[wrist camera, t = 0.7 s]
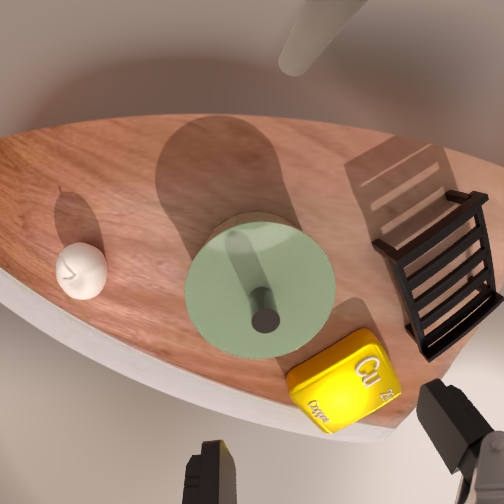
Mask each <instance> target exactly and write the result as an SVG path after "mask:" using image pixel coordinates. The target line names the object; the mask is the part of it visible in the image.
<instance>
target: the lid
mask: <svg viewBox="0 0 504 504" xmlns="http://www.w3.org/2000/svg"><path fill="white" fill-rule="evenodd" d="M184 292H185V303H186V308H187V311H188V314H189V317H190V319H191V321H192V323H193V325H194V326H195V328H196V329H197V331H198V332H199V333H200V334H201V335H202V336H203V338H204V339H205V340H207V341H208V342H209V343H210V344H212V345H213V346H215V347H216V348H218V349H219V350H221V351H224V352H226V353H228V354H231V355H234V356H237V357H242V358H248V359H267V358H273V357H278V356H282V355H284V354H287V353H290V352H292V351H294V350H296V349H298V348H300V347H301V346H303V345H305V344H306V343H307V342H308V341H310V340H311V339H312V338H313V337H314V336H315V335H316V334H317V333H318V332H319V331H320V330H321V328H322V327H323V326H324V324H325V322H326V321H327V319H328V317H329V315H330V313H331V311H332V307H333V304H334V300H335V294H336V283H335V275H334V271H333V268H332V265H331V263H330V261H329V258H328V257H327V255H326V254H325V252H324V250H323V249H322V248H321V247H320V246H319V245H318V243H317V242H316V241H314V240H313V239H312V238H311V237H310V236H309V235H307V234H306V233H304V232H303V231H301V230H299V229H297V228H295V227H293V226H290V225H287V224H284V223H280V222H274V221H251V222H246V223H241V224H238V225H235V226H232V227H230V228H227V229H226V230H224V231H222V232H220V233H218V234H217V235H216V236H214V237H213V238H211V239H210V240H209V241H208V242H207V243H206V244H205V245H204V246H203V247H202V248H201V249H200V251H199V252H198V253H197V255H196V256H195V258H194V260H193V261H192V263H191V266H190V268H189V271H188V273H187V277H186V281H185V291H184Z"/></svg>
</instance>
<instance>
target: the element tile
mask: <svg viewBox="0 0 504 504" xmlns="http://www.w3.org/2000/svg"><path fill="white" fill-rule="evenodd" d="M286 381H287V386H288V390H289V395H290V398H291V399H292V400H293V401H294V403H295V404H296V405H297V406H298V407H299V408H300V409H301V410H302V411H303V412H304V413H305V414H306V415H307V416H308V417H309V418H310V419H311V420H312V421H313V422H314V423H315V424H316V425H317V426H318V427H319V428H320V429H321V430H322V431H323V432H325V433H334V432H337V431H339V430H341V429H343V428H345V427H347V426H348V425H350V424H352V423H354V422H356V421H358V420H359V419H361V418H363V417H365V416H367V415H368V414H370V413H372V412H373V411H375V410H377V409H379V408H380V407H382V406H383V405H385V404H387V403H388V402H390V401H392V400H393V399H395V398H396V397H397V396H398V395H399V394H400V392H401V389H402V386H401V384H400V381H399V379H398V377H397V375H396V373H395V371H394V369H393V366H392V364H391V362H390V360H389V358H388V356H387V354H386V352H385V350H384V348H383V346H382V345H381V343H380V342H379V340H378V339H377V338H376V336H375V335H374V334H373V332H372V331H371V330H369V329H367V328H362V329H359V330H356V331H355V332H353V333H352V334H350V335H348V336H347V337H345V338H344V339H342V340H340V341H339V342H337V343H336V344H334V345H332V346H331V347H329V348H327V349H326V350H324V351H322V352H321V353H319V354H317V355H316V356H314V357H312V358H310V359H309V360H307V361H305V362H303V363H302V364H300V365H298V366H296V367H294V368H293V369H291V370H290V371H289V372H288V373H287V376H286Z"/></svg>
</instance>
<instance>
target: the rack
mask: <svg viewBox="0 0 504 504" xmlns="http://www.w3.org/2000/svg"><path fill="white" fill-rule="evenodd" d="M445 194H446V197H447V200H448V201H452V202H455V203H459V204H461V205H460V206H459V207H457V208H456V209H455V210H453V211H452V212H451V213H449V214H448V215H447V216H445V217H444V218H443V219H441V220H440V221H438V222H437V223H436V224H434V225H433V226H432V227H430V228H429V229H427V230H426V231H424V232H423V233H422V234H420V235H419V236H417V237H416V238H414V239H413V240H412V241H410V242H409V243H407V244H406V245H404V246H403V247H401V248H400V249H398V250H396V249H395V248H394V247H392V246H390V245H389V244H387V243H385V242H384V241H382V240H380V239H379V238H378V239H377V240H375V241H374V242H372V245H373V247H374V249H375V250H376V251H377V252H378V253H380V254H381V255H383V256H384V257H386V258H387V260H388V262H389V265H390V267H391V270H392V272H393V275H394V278H395V280H396V283H397V285H398V288H399V291H400V294H401V296H402V299H403V302H404V305H405V308H406V311H407V313H408V316H409V319H410V322H411V323H410V324H408V325H407V326H405V329H406V332H407V333H408V334H409V335H410V336H411V338H412V339H413V340H414V341H415V342H416V343H417V345H418V348H419V351H420V353H421V354H422V355H423V356H424V358H425V359H426V360H427V361H428V362H429V363H430V362H431V361H432V360H434V359H435V358H436V357H438V356H439V355H441V354H442V353H443V352H445V351H446V350H447V349H448V348H450V347H451V346H452V345H454V344H455V343H456V342H457V341H459V340H460V339H461V338H462V337H464V336H465V335H466V334H467V333H468V332H470V331H471V330H472V329H473V328H474V327H476V326H477V325H478V324H479V323H480V322H481V321H482V320H484V319H485V318H486V317H487V316H488V315H489V314H490V313H491V312H492V311H493V310H495V309H496V308H497V307H498V306H499V305H500V304H501V303H502V302H503V301H504V297H503V296H502V295H500V294H499V293H497V292H496V286H495V277H494V269H493V262H492V256H491V250H490V244H489V238H488V233H487V228H486V224H485V219H484V215H483V211H482V205H483V204H484V203H485V202H486V201H488V200H489V198H488V194H485V193H481V192H476V191H472V192H471V193H469V194H467V193H463V192H458V191H454V190H449V191H448V192H446V193H445ZM473 216H474V219H475V223H476V226H475V227H474V228H473V229H471V230H470V231H469V232H468V233H467V234H465V235H464V236H463V237H462V238H460V239H459V240H458V241H456V242H455V243H454V244H453V245H451V246H450V247H449V248H447V249H446V250H445V251H443V252H442V253H441V254H439V255H438V256H437V257H435V258H434V259H433V260H431V261H430V262H429V263H427V264H426V265H424V266H423V267H422V268H420V269H419V270H417V271H416V272H415V273H413V274H412V275H410V276H409V277H407V278H406V275H405V272H404V269H403V268H404V267H405V266H407V265H408V264H410V263H411V262H413V261H414V260H416V259H417V258H418V257H420V256H421V255H423V254H424V253H425V252H427V251H428V250H430V249H431V248H432V247H434V246H435V245H436V244H438V243H439V242H440V241H442V240H443V239H444V238H446V237H447V236H448V235H450V234H451V233H452V232H454V231H455V230H456V229H458V228H459V227H460V226H461V225H463V224H464V223H465V222H467V221H468V220H469V219H470V218H472V217H473ZM478 239H479V241H480V246H481V248H480V249H478V250H477V251H476V252H475V253H474V254H473V255H471V256H470V257H469V258H468V259H466V260H465V261H464V262H463V263H462V264H460V265H459V266H458V267H457V268H455V269H454V270H453V271H452V272H450V273H449V274H448V275H446V276H445V277H444V278H443V279H441V280H440V281H439V282H437V283H436V284H435V285H433V286H432V287H431V288H429V289H428V290H426V291H425V292H424V293H422V294H421V295H420V296H418V297H417V298H415V299H414V298H413V295H412V292H411V291H412V290H413V289H415V288H416V287H418V286H419V285H421V284H422V283H423V282H425V281H426V280H427V279H429V278H430V277H432V276H433V275H434V274H436V273H437V272H438V271H440V270H441V269H442V268H444V267H445V266H446V265H447V264H449V263H450V262H451V261H453V260H454V259H455V258H456V257H458V256H459V255H460V254H461V253H463V252H464V251H465V250H466V249H468V248H469V247H470V246H471V245H472V244H474V243H475V242H476V241H477V240H478ZM482 261H483V262H484V268H483V269H482V270H481V271H480V272H479V273H478V274H476V275H475V276H474V277H473V276H472V277H470V278H469V279H468V282H467V283H466V284H465V285H463V286H462V287H461V288H460V289H458V290H457V291H456V292H455V293H453V294H452V295H451V296H450V297H448V298H447V299H446V300H445V301H443V302H442V303H441V304H439V305H438V306H437V307H435V308H434V309H433V310H431V311H430V312H429V313H427V314H426V315H424V316H423V317H422V318H420V317H419V314H418V311H420V310H421V309H422V308H424V307H425V306H427V305H428V304H429V303H431V302H432V301H433V300H435V299H436V298H437V297H439V296H440V295H441V294H443V293H444V292H445V291H446V290H448V289H449V288H450V287H452V286H453V285H454V284H455V283H457V282H458V281H459V280H460V279H462V278H463V277H464V276H465V275H466V274H468V273H469V272H470V271H471V270H472V269H474V268H475V267H476V266H477V265H478V264H479V263H481V262H482ZM485 280H486V282H487V285H486V284H485V283H483V282H484V281H485ZM475 289H476V290H478V291H479V292H480V293H479V294H477V295H476V296H475V297H474V298H473V299H472V300H470V301H469V302H468V303H467V304H466V305H464V306H463V307H462V308H461V309H460V310H458V311H457V312H456V313H455V314H453V315H452V316H451V317H450V318H448V319H447V320H446V321H444V322H443V323H442V324H440V325H439V326H438V327H436V328H435V329H434V330H432V331H431V332H430V333H428V334H427V335H426V336H425V335H424V331H423V330H424V329H426V328H427V327H428V326H430V325H431V324H432V323H434V322H435V321H437V320H438V319H439V318H440V317H442V316H443V315H444V314H446V313H447V312H448V311H450V310H451V309H452V308H453V307H455V306H456V305H457V304H458V303H460V302H461V301H462V300H463V299H464V298H466V297H467V296H468V295H469V294H470V293H472V292H473V291H474V290H475ZM487 298H489V299H488V300H487V301H486V302H485V303H484V304H482V303H483V302H484V301H485V300H486V299H487ZM481 304H482V305H481ZM480 305H481V306H480ZM478 306H480V307H479V308H478V309H477V310H476V311H474V310H475V309H476V308H477V307H478ZM473 311H474V312H473ZM471 312H473V313H472V314H471V315H470V316H468V315H469V314H470V313H471ZM467 316H468V317H467ZM466 317H467V318H466ZM464 318H466V319H465V320H464V321H462V320H463V319H464ZM461 321H462V322H461ZM459 322H461V323H460V324H459V325H458V326H456V325H457V324H458V323H459ZM454 326H456V327H455V328H454V329H452V328H453V327H454ZM451 329H452V330H451ZM449 330H451V331H450V332H449V333H447V332H448V331H449ZM445 333H447V334H446V335H445V336H443V335H444V334H445ZM441 336H443V337H442V338H441V339H439V338H440V337H441ZM437 339H439V340H438V341H437V342H435V341H436V340H437ZM433 342H435V343H434V344H433V345H431V344H432V343H433ZM429 345H431V346H430V347H429V348H428V346H429Z"/></svg>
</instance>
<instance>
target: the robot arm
mask: <svg viewBox="0 0 504 504" xmlns="http://www.w3.org/2000/svg"><path fill="white" fill-rule="evenodd" d="M416 411H417V416H418V419H419V421H420V423H421V425H422V426H423V428H424V429H425V431H426V432H427V434H428V436H429V437H430V439H431V441H432V442H433V444H434V446H435V447H436V449H437V451H438V452H439V454H440V456H441V457H442V459H443V461H444V462H445V464H446V466H447V468H448V469H449V471H450V473H451V474H454V473H456V472H457V471H459V470H460V471H461V473H462V476H461V480H460V484H459V488H458V492H457V496H456V500H455V504H504V432H503V431H494V429H492V427H491V426H490V425H489V424H488V423H487V421H486V420H485V419H484V417H483V416H482V415H481V414H480V412H479V411H478V410H477V409H476V408H475V406H473V404H472V403H471V401H470V400H468V399H467V397H466V395H465V394H464V393H463V392H462V391H461V390H460V389H458V388H456V387H454V386H453V385H450V386H447V387H446V386H445V385H444V383H443V382H442V381H441V380H440V379H438V378H437V379H435V380H432V381H430V382H428V383H426V384H424V385H422V386H421V387H420V393H419V398H418V403H417V409H416ZM184 486H185V487H184V491H183V500H182V504H237V499H236V498H237V497H236V496H237V495H236V469H235V463H234V460H233V458H232V456H231V454H230V453H229V451H228V449H227V447H226V445H225V443H224V441H223V440H214V441H204V442H203V443H202V450H201V455H192V457H191V458H190V460H189V462H188V463H187V465H186V473H185V481H184Z"/></svg>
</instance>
